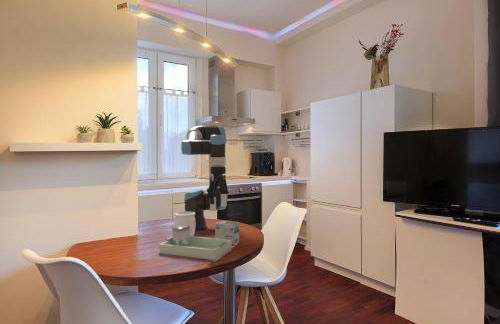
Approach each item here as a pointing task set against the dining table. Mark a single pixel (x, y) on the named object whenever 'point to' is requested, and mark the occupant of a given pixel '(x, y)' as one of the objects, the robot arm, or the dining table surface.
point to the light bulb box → (227, 231)
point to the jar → (186, 220)
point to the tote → (198, 248)
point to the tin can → (181, 236)
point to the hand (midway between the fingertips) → (218, 208)
